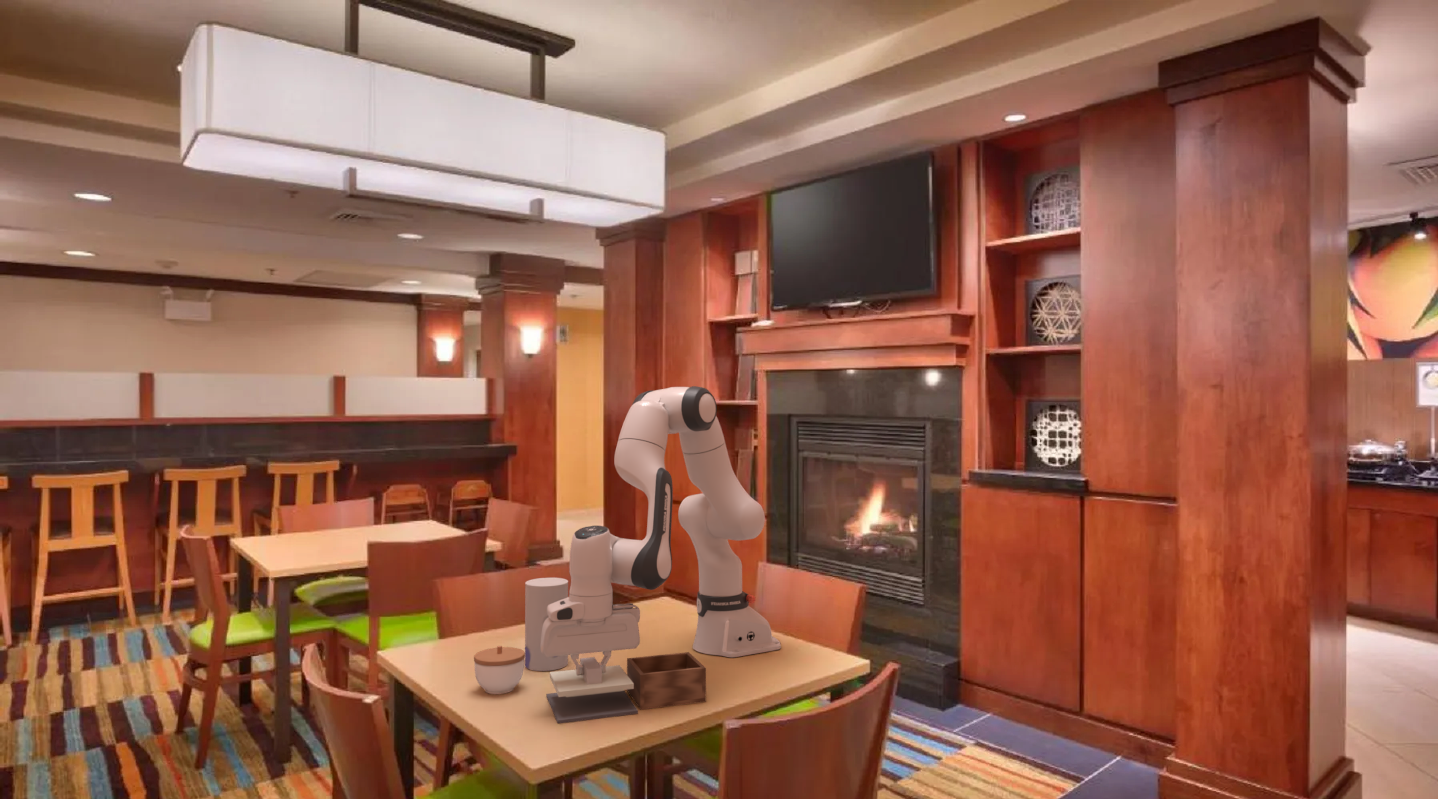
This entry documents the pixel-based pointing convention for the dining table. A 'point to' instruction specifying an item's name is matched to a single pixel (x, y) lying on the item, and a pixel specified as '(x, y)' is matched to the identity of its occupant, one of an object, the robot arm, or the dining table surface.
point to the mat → (590, 706)
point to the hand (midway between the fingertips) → (590, 673)
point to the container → (541, 621)
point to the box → (666, 680)
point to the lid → (590, 680)
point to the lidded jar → (499, 669)
